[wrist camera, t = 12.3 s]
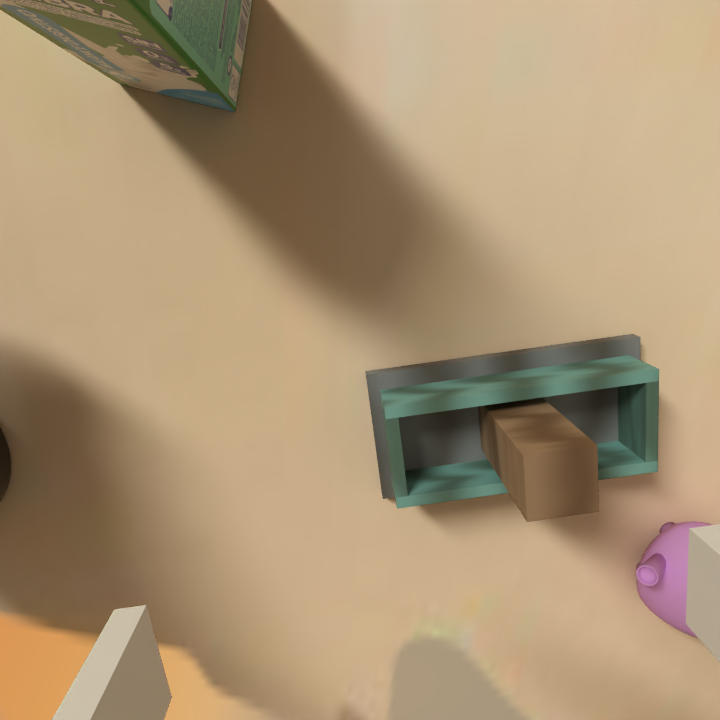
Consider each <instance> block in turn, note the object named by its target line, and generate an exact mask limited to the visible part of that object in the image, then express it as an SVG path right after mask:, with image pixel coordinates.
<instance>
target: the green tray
mask: <svg viewBox="0 0 720 720" xmlns="http://www.w3.org/2000/svg"><path fill="white" fill-rule="evenodd" d="M366 378H367V386H368V393H369V400H370V408H371V415H372V422H373V430H374V437H375V445H376V452H377V459H378V467H379V474H380V482H381V489H382V496H383V499H385V498H392V497H395V500H396V505H397V508H404V507H411V506H418V505H425V504H432V503H439V502H446V501H453V500H460V499H467V498H474V497H482V496H489V495H496V494H503V493H509V492H508V491H507V489H506V488H505V486H504V484H503V483H502V481H501V480H500V478H499V476H498V475H497V473H496V472H495V470H494V469H493V467H492V465H491V464H490V462H489V461H488V459H487V457H486V456H485V454H484V453H483V451H482V449H481V438H480V426H479V414H478V406H484V405H491V404H498V403H506V402H513V401H520V400H527V399H534V398H541V397H542V398H543V399H545V400H546V401H547V402H548V403H549V404H550V405H552V406H553V407H554V408H555V409H556V410H557V411H558V412H560V413H561V414H562V415H563V416H564V417H565V418H567V419H568V420H569V421H570V422H571V423H572V424H574V425H575V426H576V427H577V428H578V429H579V430H580V431H582V432H583V433H584V434H585V435H586V436H587V437H589V438H590V439H591V440H592V441H593V442H594V443H596V444H597V451H598V480H602V479H609V478H616V477H623V476H630V475H637V474H644V473H651V472H658V406H659V369H658V368H656V367H653V366H651V365H649V364H647V363H645V362H643V361H640V337H639V336H636V335H634V334H630V335H623V336H616V337H609V338H602V339H594V340H587V341H580V342H573V343H566V344H558V345H551V346H544V347H537V348H530V349H523V350H515V351H508V352H501V353H494V354H487V355H480V356H472V357H465V358H458V359H451V360H444V361H437V362H429V363H422V364H415V365H408V366H401V367H394V368H386V369H379V370H372V371H366Z"/></svg>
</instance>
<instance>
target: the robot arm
mask: <svg viewBox="0 0 720 720" xmlns="http://www.w3.org/2000/svg"><path fill="white" fill-rule="evenodd" d="M9 478H10V455H9V450H8V447H7V443H6V441H5V438H4V436H3V434H2V432H1V430H0V500H1V499H2V497H3V495H4V493H5V491H6V489H7V486H8V482H9ZM686 624H687V626H688V627H689V628H690V629H691V630H692V631H693V632H694V634H695V635H696V636H697V637H698V638H699V639H700V640H701V642H702V643H703V644H704V645H705V646H706V647H707V649H708V650H709V651H710V652H711V653H712V654H713V655H714V657H715V658H716V659H717V660H718V661H719V662H720V524H717V525H710V526H703V527H696V528H689V548H688V575H687V602H686ZM171 698H172V696H171V693H170V689H169V686H168V682H167V678H166V675H165V671H164V668H163V664H162V660H161V657H160V653H159V649H158V645H157V642H156V638H155V635H154V631H153V627H152V624H151V620H150V616H149V613H148V609H147V605H142V606H135V607H128V608H121V609H114V611H113V613H112V614H111V616H110V618H109V620H108V621H107V623H106V625H105V627H104V628H103V630H102V632H101V634H100V636H99V637H98V639H97V641H96V643H95V644H94V646H93V648H92V650H91V651H90V653H89V655H88V657H87V659H86V660H85V662H84V664H83V666H82V667H81V670H80V671H79V673H78V674H77V676H76V678H75V680H74V682H73V683H72V685H71V687H70V689H69V690H68V692H67V694H66V696H65V697H64V699H63V701H62V703H61V705H60V706H59V708H58V710H57V712H56V713H55V715H54V717H53V719H52V720H164V718H165V715H166V712H167V709H168V706H169V703H170V700H171Z"/></svg>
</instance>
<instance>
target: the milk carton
mask: <svg viewBox="0 0 720 720" xmlns="http://www.w3.org/2000/svg"><path fill="white" fill-rule="evenodd" d="M251 6H252V0H0V10H2V11H3V12H5V13H7V14H8V15H10V16H11V17H13V18H15V19H16V20H18V21H19V22H21V23H23V24H24V25H26V26H27V27H29V28H31V29H32V30H34V31H35V32H37V33H39V34H40V35H42V36H43V37H45V38H47V39H48V40H50V41H51V42H53V43H55V44H56V45H58V46H59V47H61V48H63V49H64V50H66V51H67V52H69V53H71V54H72V55H74V56H75V57H77V58H79V59H80V60H82V61H83V62H85V63H87V64H88V65H90V66H91V67H93V68H95V69H96V70H98V71H99V72H101V73H103V74H104V75H106V76H107V77H109V78H111V79H112V80H114V81H115V82H117V83H119V84H122V85H126V86H130V87H134V88H138V89H142V90H147V91H151V92H155V93H159V94H163V95H167V96H171V97H175V98H179V99H183V100H187V101H191V102H195V103H199V104H204V105H208V106H212V107H216V108H220V109H224V110H228V111H232V112H235V110H236V104H237V97H238V91H239V84H240V78H241V71H242V65H243V58H244V52H245V45H246V39H247V32H248V26H249V19H250V12H251Z"/></svg>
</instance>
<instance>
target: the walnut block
mask: <svg viewBox="0 0 720 720" xmlns="http://www.w3.org/2000/svg"><path fill="white" fill-rule="evenodd" d="M478 414H479V426H480V438H481V449H482V451H483V453H484V454H485V456H486V457H487V459H488V461H489V462H490V464H491V465H492V467H493V469H494V470H495V472H496V473H497V475H498V476H499V478H500V480H501V481H502V483H503V484H504V486H505V488H506V489H507V491H508V492H509V494H510V495H511V497H512V499H513V500H514V502H515V503H516V505H517V507H518V508H519V510H520V511H521V513H522V514H523V516H524V518H525V519H526V521H527V522H530V521H537V520H544V519H551V518H557V517H564V516H571V515H578V514H585V513H592V512H599V497H598V451H597V444H596V443H594V442H593V441H592V440H591V439H590V438H589V437H587V436H586V435H585V434H584V433H583V432H582V431H580V430H579V429H578V428H577V427H576V426H575V425H574V424H572V423H571V422H570V421H569V420H568V419H567V418H565V417H564V416H563V415H562V414H561V413H560V412H558V411H557V410H556V409H555V408H554V407H553V406H552V405H550V404H549V403H548V402H547V401H546V400H545V399H543V398H542V397H541V398H534V399H527V400H520V401H513V402H506V403H498V404H491V405H484V406H478Z"/></svg>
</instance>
